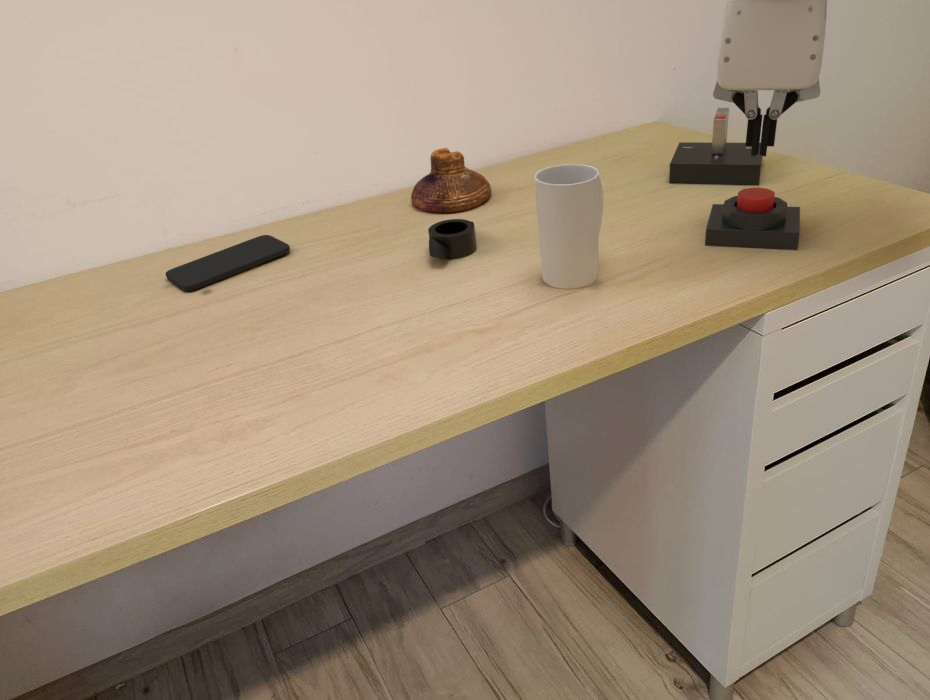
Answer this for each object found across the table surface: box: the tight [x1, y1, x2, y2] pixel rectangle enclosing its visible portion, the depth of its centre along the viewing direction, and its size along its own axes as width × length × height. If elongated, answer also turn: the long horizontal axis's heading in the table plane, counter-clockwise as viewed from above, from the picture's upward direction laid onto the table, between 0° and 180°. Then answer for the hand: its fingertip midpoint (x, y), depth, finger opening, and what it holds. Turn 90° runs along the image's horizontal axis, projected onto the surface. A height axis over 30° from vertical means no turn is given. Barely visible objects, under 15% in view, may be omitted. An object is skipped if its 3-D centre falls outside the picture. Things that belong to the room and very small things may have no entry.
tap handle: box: [711, 107, 730, 155], centre depth 107 cm, size 6×2×5 cm, turn 159°
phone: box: [165, 234, 291, 292], centre depth 97 cm, size 7×1×15 cm
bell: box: [410, 147, 492, 214], centre depth 108 cm, size 12×12×7 cm
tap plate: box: [668, 141, 764, 187], centre depth 108 cm, size 12×12×3 cm
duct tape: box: [427, 218, 478, 260], centre depth 94 cm, size 8×10×3 cm
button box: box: [704, 195, 801, 251], centre depth 88 cm, size 10×8×4 cm
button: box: [737, 187, 776, 212], centre depth 86 cm, size 4×4×2 cm
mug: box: [534, 163, 604, 290], centre depth 82 cm, size 10×7×12 cm, turn 138°
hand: (759, 152), depth 84 cm, fingers closed
